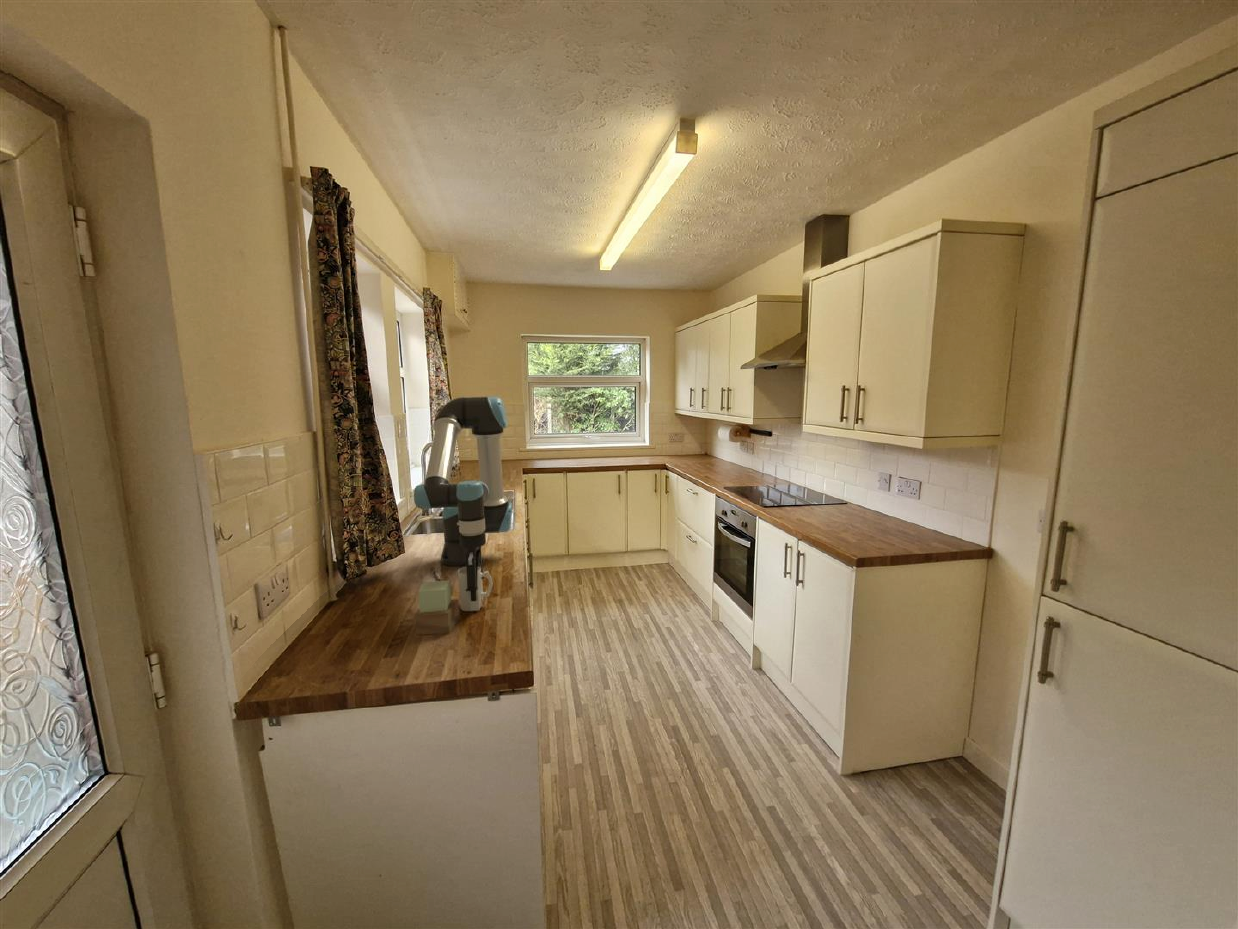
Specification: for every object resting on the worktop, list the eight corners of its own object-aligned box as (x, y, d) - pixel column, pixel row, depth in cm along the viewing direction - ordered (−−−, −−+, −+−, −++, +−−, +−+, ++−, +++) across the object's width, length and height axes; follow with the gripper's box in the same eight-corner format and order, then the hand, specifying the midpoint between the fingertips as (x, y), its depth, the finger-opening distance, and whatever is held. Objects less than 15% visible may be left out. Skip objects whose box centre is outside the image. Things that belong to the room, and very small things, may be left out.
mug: (458, 613, 141) (456, 574, 140) (460, 603, 148) (458, 567, 146) (493, 609, 144) (491, 571, 142) (494, 600, 150) (492, 563, 149)
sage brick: (425, 602, 136) (424, 582, 135) (451, 600, 137) (450, 580, 136) (419, 612, 129) (418, 591, 128) (446, 610, 130) (445, 589, 129)
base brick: (428, 619, 138) (427, 600, 137) (459, 619, 138) (458, 599, 137) (416, 634, 129) (414, 614, 128) (449, 634, 129) (447, 613, 128)
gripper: (465, 524, 152) (469, 593, 155) (452, 542, 132) (458, 620, 136) (489, 523, 153) (493, 591, 156) (480, 541, 134) (484, 618, 137)
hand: (476, 604), depth 146 cm, fingers open, 7 cm apart
